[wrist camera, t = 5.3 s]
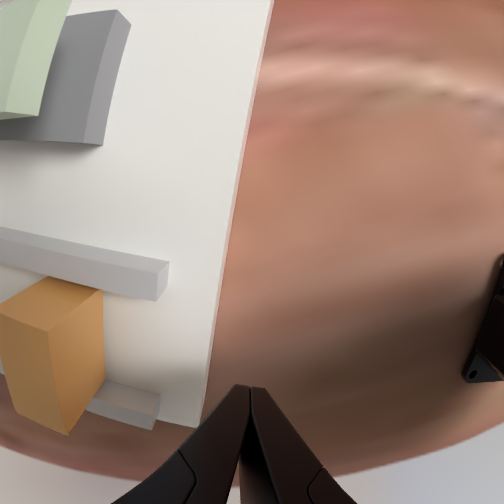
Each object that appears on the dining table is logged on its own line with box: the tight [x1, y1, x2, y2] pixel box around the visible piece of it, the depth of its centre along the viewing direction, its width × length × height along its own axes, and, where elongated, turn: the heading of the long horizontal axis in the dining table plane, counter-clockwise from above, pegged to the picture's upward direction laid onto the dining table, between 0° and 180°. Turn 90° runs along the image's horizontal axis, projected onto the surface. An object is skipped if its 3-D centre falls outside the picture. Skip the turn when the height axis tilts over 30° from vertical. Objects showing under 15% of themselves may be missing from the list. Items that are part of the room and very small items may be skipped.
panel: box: [0, 0, 274, 431], centre depth 8 cm, size 15×23×4 cm, turn 170°
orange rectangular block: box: [0, 276, 106, 436], centre depth 8 cm, size 2×4×3 cm, turn 170°
